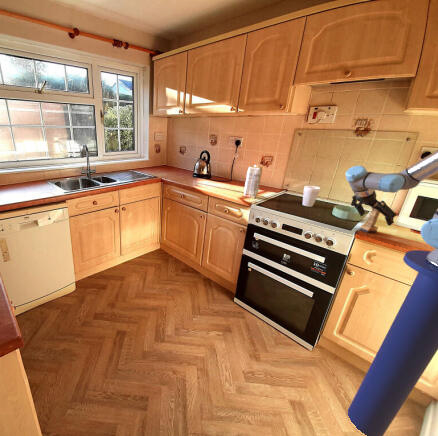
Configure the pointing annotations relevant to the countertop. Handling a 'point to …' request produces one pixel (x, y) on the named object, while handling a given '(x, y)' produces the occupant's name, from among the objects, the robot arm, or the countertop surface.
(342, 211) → the bowl
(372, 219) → the dish brush
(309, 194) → the foam cup
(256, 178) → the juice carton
